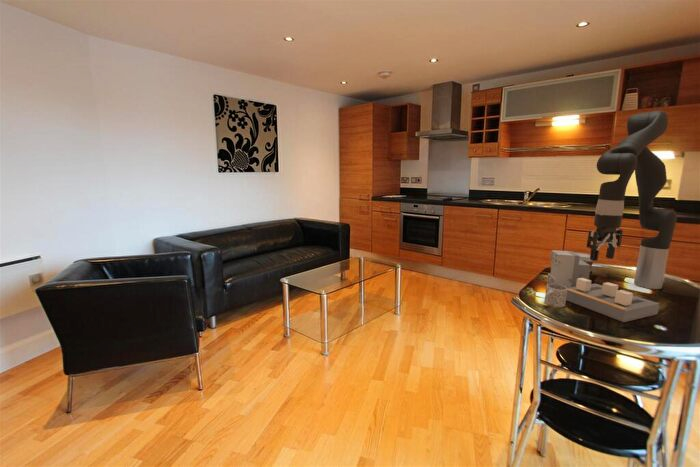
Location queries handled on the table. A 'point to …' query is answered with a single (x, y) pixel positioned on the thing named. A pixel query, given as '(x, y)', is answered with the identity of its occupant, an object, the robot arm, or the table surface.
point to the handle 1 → (583, 284)
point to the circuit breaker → (567, 268)
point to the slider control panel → (612, 304)
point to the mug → (555, 295)
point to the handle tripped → (609, 289)
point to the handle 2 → (623, 297)
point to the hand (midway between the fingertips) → (601, 259)
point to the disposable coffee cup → (585, 258)
